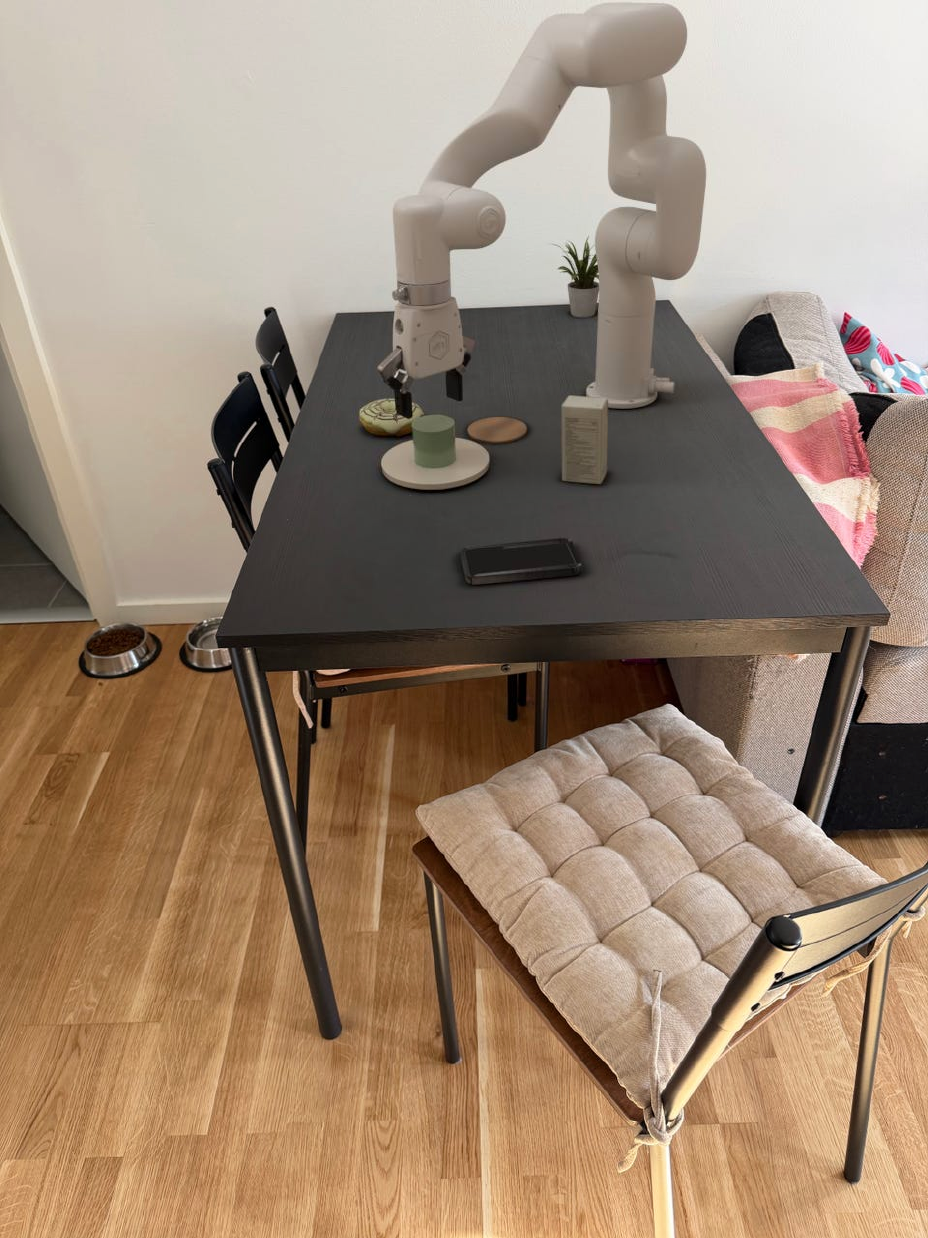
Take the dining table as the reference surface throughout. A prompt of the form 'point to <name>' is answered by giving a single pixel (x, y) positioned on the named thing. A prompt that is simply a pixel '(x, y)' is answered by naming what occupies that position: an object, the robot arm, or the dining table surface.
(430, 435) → the sage green cylinder
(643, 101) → the robot arm
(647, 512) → the dining table surface
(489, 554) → the phone
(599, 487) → the dining table surface
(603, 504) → the dining table surface
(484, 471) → the plate
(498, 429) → the coaster
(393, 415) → the decorated donut
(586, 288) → the house plant
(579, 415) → the cosmetic box
